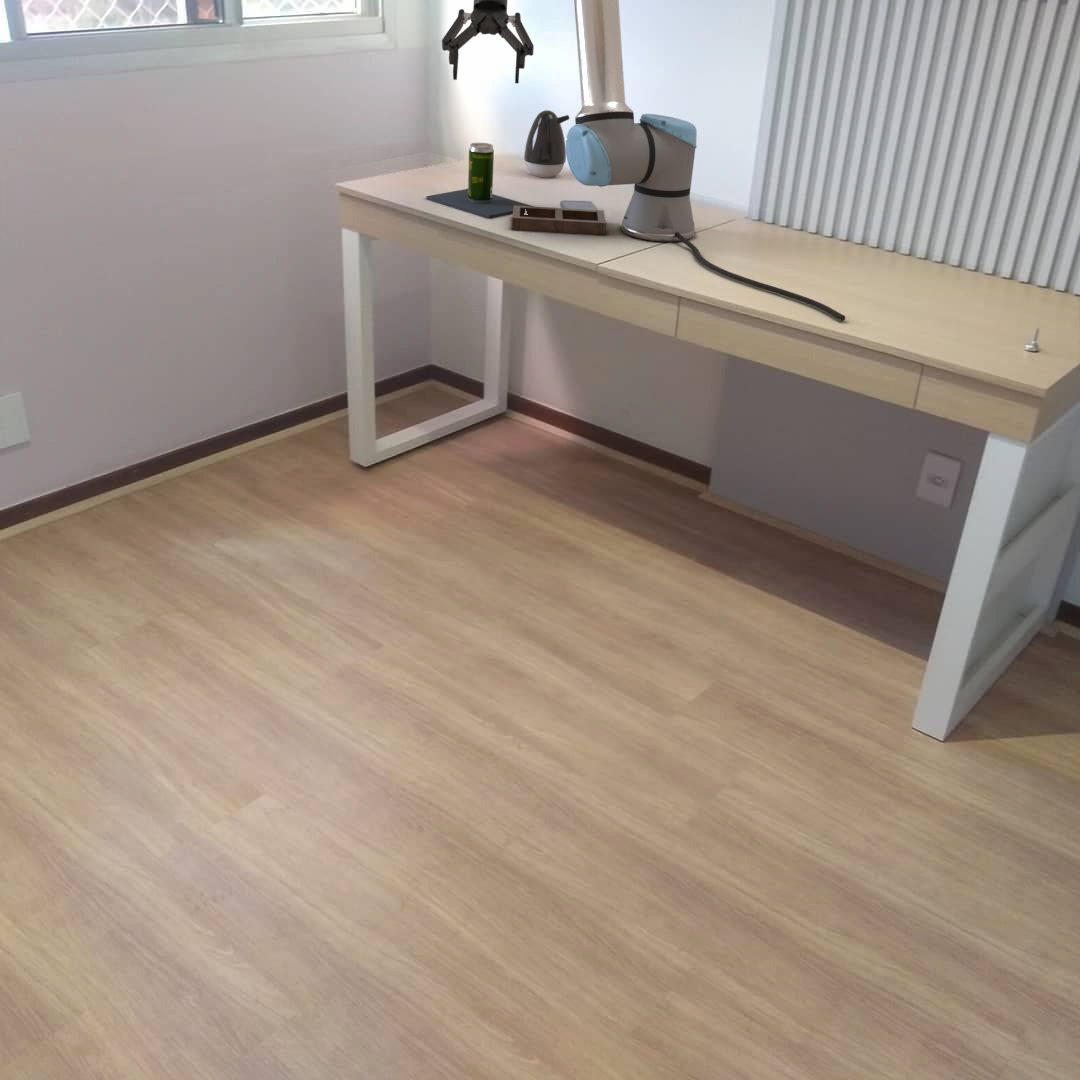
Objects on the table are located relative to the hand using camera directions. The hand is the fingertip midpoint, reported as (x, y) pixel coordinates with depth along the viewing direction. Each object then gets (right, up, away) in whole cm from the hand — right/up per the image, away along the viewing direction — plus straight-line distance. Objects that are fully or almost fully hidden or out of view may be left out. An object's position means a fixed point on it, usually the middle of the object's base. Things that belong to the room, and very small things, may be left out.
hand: (485, 77), depth 254 cm
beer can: (-1, -26, +3) cm, 26 cm away
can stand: (+16, -35, -9) cm, 39 cm away
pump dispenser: (+13, -12, +31) cm, 36 cm away
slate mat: (-1, -27, +3) cm, 27 cm away
